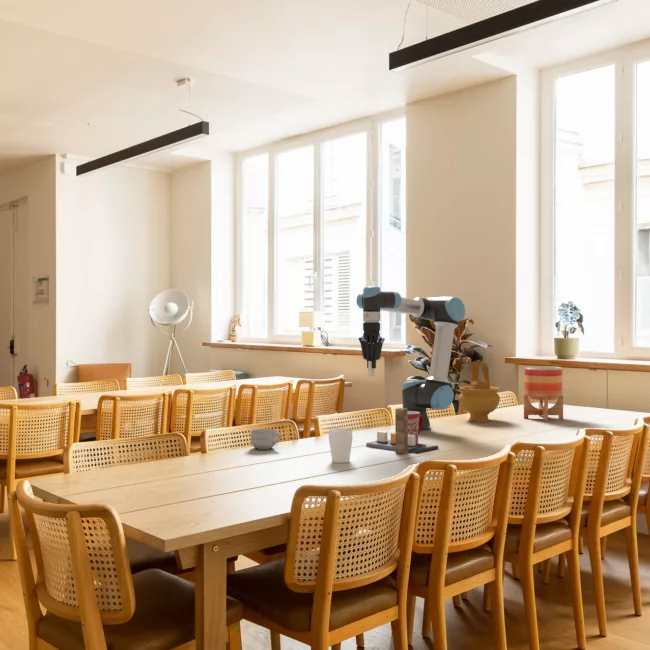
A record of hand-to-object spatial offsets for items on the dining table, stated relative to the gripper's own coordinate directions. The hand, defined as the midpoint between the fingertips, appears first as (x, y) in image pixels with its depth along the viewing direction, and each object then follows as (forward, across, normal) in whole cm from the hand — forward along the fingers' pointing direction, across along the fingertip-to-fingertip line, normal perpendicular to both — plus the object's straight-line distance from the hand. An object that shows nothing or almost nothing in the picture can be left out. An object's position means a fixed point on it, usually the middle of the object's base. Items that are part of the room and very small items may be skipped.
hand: (371, 375), depth 312 cm
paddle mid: (+27, +16, -3) cm, 32 cm away
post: (+29, +25, -12) cm, 40 cm away
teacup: (+30, -23, -41) cm, 56 cm away
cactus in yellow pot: (+28, +4, +84) cm, 88 cm away
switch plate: (+29, +16, -3) cm, 33 cm away
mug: (+29, +15, +9) cm, 34 cm away
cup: (+30, +16, -39) cm, 52 cm away
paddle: (+27, +9, -4) cm, 29 cm away
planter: (+28, +27, +110) cm, 116 cm away
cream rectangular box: (+27, +23, -3) cm, 36 cm away
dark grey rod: (+29, +30, -1) cm, 42 cm away
